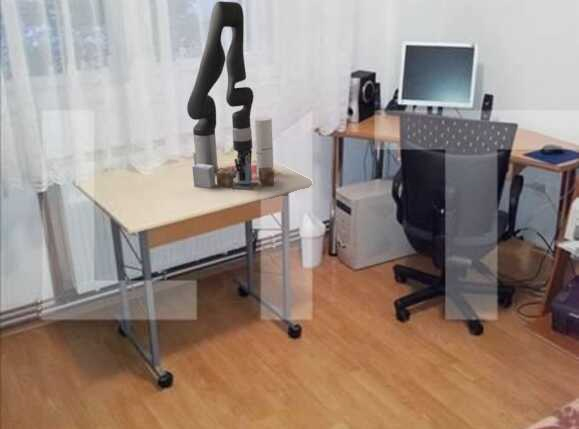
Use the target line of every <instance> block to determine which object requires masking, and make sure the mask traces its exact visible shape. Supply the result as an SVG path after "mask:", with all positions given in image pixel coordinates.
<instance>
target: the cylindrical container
mask: <svg viewBox="0 0 579 429" xmlns="http://www.w3.org/2000/svg"><path fill="white" fill-rule="evenodd" d="M272 119H273V118H272V117H271V116H267V115H262V116H261V115H260V116H256V117H254V118H253V120H254V140H255V158H256V159H255V161H256V162H255V163H256V175H257V176H256V177H257V178H259V168H267V167H271V168H272V170H273V171H274V170H275V169H274V168H275V167H274V146H273V121H272ZM274 172H275V171H274Z"/></svg>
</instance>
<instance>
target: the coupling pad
mask: <svg viewBox="0 0 579 429" xmlns="http://www.w3.org/2000/svg"><path fill="white" fill-rule="evenodd" d="M257 185H258V181H251V182H250V183H249V184H242V183H238V181H237V182H236V183H235V184H234V185H233V186H232V190H244V191H252V190H253V189H254V188H255V187H256V186H257Z"/></svg>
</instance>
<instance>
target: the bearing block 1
mask: <svg viewBox="0 0 579 429" xmlns="http://www.w3.org/2000/svg"><path fill="white" fill-rule="evenodd" d="M215 174H216V175H215V177H216V186H217V187H218V188H230V187H231V186H232V185H233V184H234V182H235V178H237V171H234V168H225V167H223V168H220V169H218V171H217V172H216V173H215Z"/></svg>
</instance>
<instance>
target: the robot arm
mask: <svg viewBox="0 0 579 429" xmlns="http://www.w3.org/2000/svg"><path fill="white" fill-rule="evenodd" d="M244 20H245V19H244V10H243V7H242V5H241V4H240V3H239V2H238V1H237V2H236V1H221V0H220V1H217V2H215V4H214V5H213V7H212V11H211V14H210V20H209V26H208V27H209V28H208V31H207V37H206V42H205V46H204V50H203V53H202V56H201V60H200V63H199V68H198V72H197V75H196V77H195V78H196V79H195V82H194V85H193V89H192V91H191V94H190V96H189V98H188V101H187V107H186V109H187V111H186V112H187V114H188V116H189V117H190V119H192V120H195V121H197V123H196V124H195V125H194V127H193V130H192V131H193V132H192V133H193V142H194V150H193V152H192V153H193V163H194V164H193V166H195V165H197V164H205V165H212V166H214V173H215V174H216V173H217V172H218V171H219V167H218V166H219V165H218V153H217V152H218V151H217V142H216V141H217V140H216V127H217V108H216V103H215V99H214V98H213V97H212V96H211V95H209V93H210V92H211V90H212V88H213V87H214V86H215V85H216V83H217V82H218V80H219V79H220V77H221V75H222V73H223V70H224V67H225V64H226V70H227V71H226V72H227V73H226V74H227V89H226V95H225V96H226V97H225V98H226V99H225V100H226V103H227V105H228V106H230V107H232V108H233V107H241V106H242V108H241V109H240V110H238V111H235V112H233V113H232V116H231V120H232V143H233V150H234V151H236V152H237V155H236V156H237V157H236V158H235V159H234V164H235V169H236V173H237V172H239V174H240V180H241V181H245V166H246V164H247V162H251V163H252V158H253V157H252V155H253V154H252V153H253V152H252V149H253V138H252V137H253V134H252V128H251V111H252V106H253V102H254V96H255V95H254V92H253V90H252V88H251V87H249V86H242V87H236V84H237V83H240V82H243V81H245V80H246V78H247V72H246V67H245V66H246V65H245V57H244V56H245V55H244V35H245V34H244V33H245V32H244V28H245V25H244V22H245V21H244ZM224 28H231V32H232V36H231V42H230V45H229V48H228V50H227V54H225V53H226V52H225V49H224V47H223V43H222V34H223V30H224ZM242 163H244V164H242ZM238 167H239V168H238ZM240 168H241V169H240Z"/></svg>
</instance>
